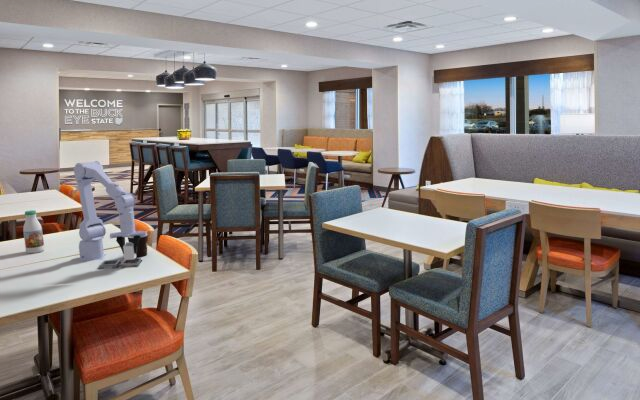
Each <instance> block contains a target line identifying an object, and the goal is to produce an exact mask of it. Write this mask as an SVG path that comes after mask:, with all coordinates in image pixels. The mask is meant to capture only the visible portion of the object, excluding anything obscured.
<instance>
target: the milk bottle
mask: <svg viewBox="0 0 640 400" xmlns="http://www.w3.org/2000/svg"><path fill="white" fill-rule="evenodd" d="M24 215H25V221H24V224H23V229H22V231H23V239H24V240H23V241H24V246H25V247H24V248H25V252H26V254H38V253H41V252H44V251H45V242H44V241H45V240H44V235H43V234H44V233H43V227H42V224H41V223H40V221H39V220H38V218H37V211H36V210H34V209H33V210H26V211H25V212H24Z"/></svg>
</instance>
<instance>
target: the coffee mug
mask: <svg viewBox="0 0 640 400" xmlns="http://www.w3.org/2000/svg"><path fill="white" fill-rule="evenodd" d="M148 237H149V234H148V233H147V236H146V237H143V236H141V238H140V241H139V244H138V248H137V253H136V258H135V259H140V258H143V257H146V256H147V255H148ZM133 238H134V237H127V240H128V242H132V244H133Z"/></svg>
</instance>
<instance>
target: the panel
mask: <svg viewBox="0 0 640 400" xmlns="http://www.w3.org/2000/svg"><path fill="white" fill-rule="evenodd" d="M141 258H142V257H139V258H135V259H133V260H121V259H112V260H111V259H110V260H104V261H102V262H101V263H100V264H99V267H98V269H97V270H98V271H99V270H113V269H114V270H115V269H128V268H129V269H130V268H138V267H139V266H140V265H141V263H142V262H143V259H141Z"/></svg>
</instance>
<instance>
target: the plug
mask: <svg viewBox="0 0 640 400" xmlns="http://www.w3.org/2000/svg"><path fill="white" fill-rule="evenodd" d="M123 250H124V254H123V257H124V260H133V259H137V258H136V254H134V244H132V242H129V241H128V242H126V241H125V245H124V246H123ZM124 260H123V261H124Z"/></svg>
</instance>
